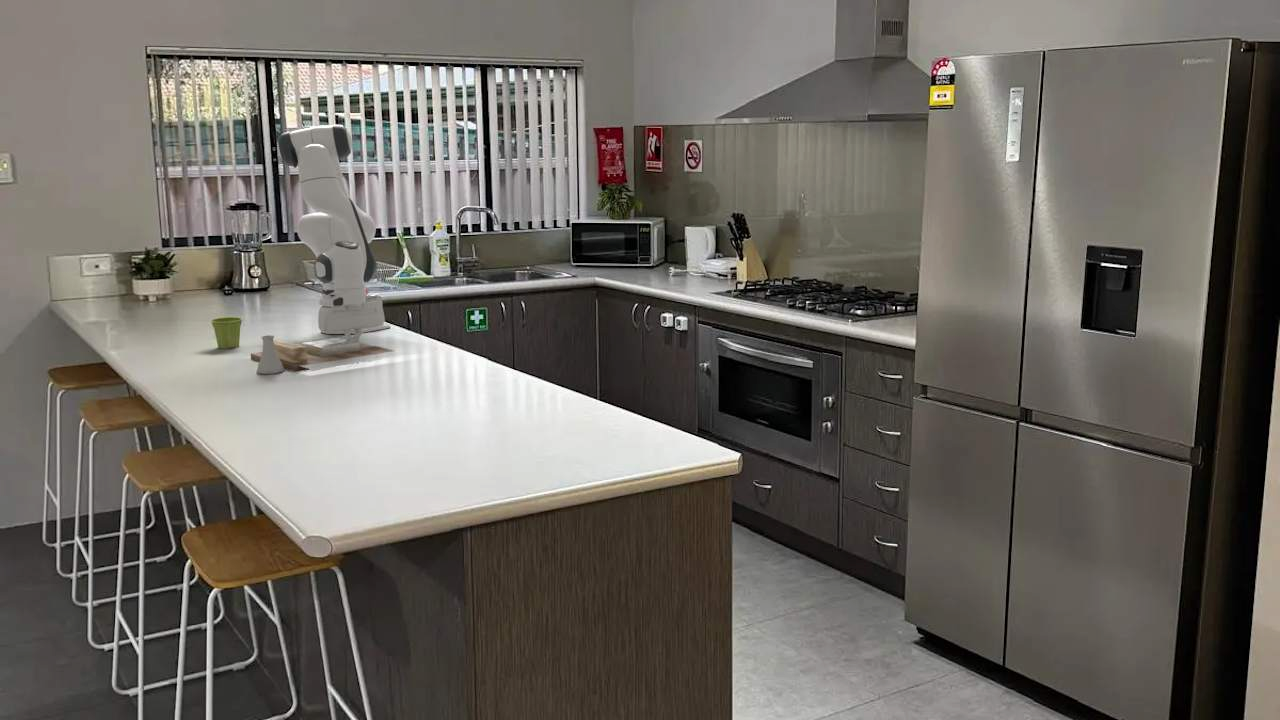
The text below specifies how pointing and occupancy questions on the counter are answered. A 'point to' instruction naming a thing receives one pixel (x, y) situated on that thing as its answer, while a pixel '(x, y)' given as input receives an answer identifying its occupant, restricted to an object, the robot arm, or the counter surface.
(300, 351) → the bar
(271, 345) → the flask
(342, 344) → the aluminium plate
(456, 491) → the counter surface
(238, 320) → the plant pot
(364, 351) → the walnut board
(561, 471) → the counter surface
